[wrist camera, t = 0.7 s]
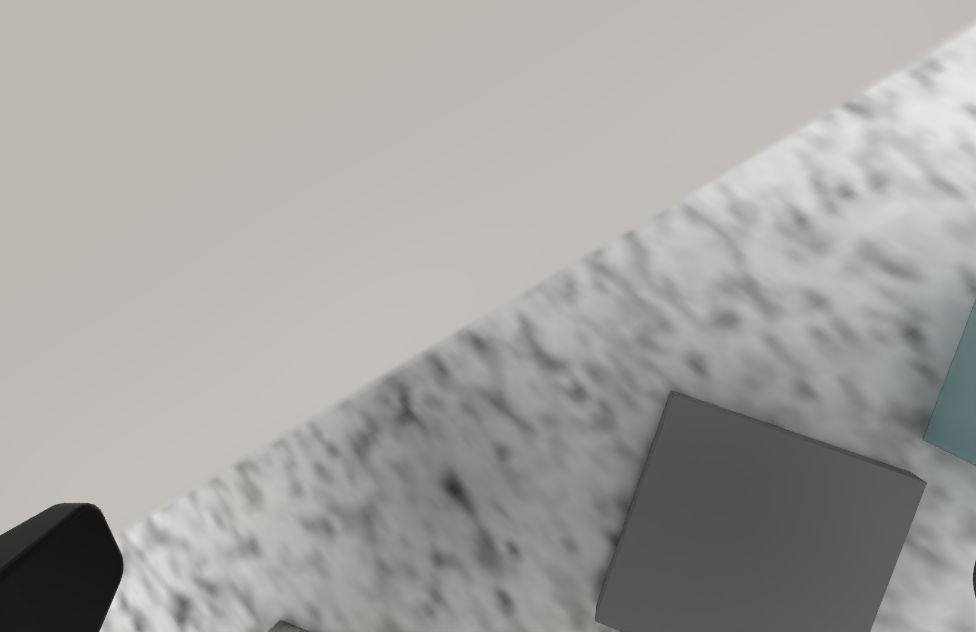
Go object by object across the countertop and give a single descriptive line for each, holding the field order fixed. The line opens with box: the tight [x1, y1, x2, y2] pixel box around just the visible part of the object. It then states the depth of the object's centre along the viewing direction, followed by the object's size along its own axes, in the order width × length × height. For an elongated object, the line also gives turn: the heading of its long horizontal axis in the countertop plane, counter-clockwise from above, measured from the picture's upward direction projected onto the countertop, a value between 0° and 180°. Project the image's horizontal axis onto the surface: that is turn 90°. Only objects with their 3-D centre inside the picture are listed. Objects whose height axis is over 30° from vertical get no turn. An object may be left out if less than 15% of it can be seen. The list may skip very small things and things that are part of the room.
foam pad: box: [595, 391, 927, 632], centre depth 22 cm, size 7×7×1 cm
